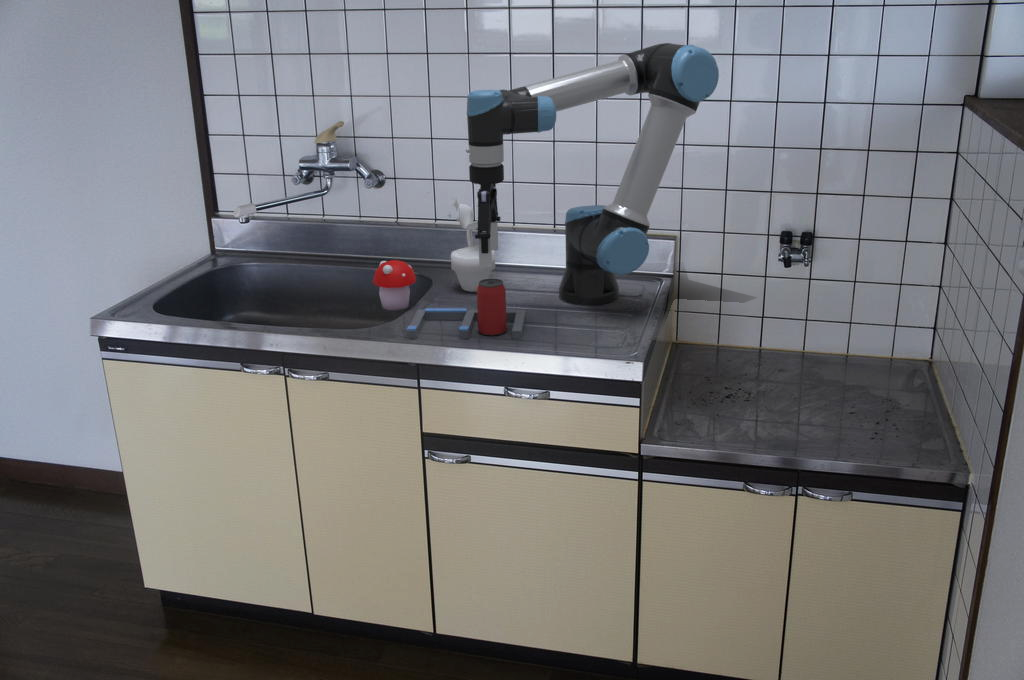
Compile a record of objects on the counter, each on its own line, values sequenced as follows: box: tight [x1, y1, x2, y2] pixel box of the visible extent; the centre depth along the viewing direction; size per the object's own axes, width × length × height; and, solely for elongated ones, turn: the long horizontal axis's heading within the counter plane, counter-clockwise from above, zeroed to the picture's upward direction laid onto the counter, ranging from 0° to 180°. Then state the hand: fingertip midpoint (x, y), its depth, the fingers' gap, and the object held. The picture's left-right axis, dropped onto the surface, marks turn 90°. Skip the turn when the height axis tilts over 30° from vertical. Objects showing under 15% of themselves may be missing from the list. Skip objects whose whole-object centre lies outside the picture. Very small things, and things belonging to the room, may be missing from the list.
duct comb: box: [406, 307, 526, 340], centre depth 226 cm, size 26×14×2 cm, turn 85°
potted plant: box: [447, 199, 496, 293], centre depth 250 cm, size 13×12×25 cm
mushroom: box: [372, 259, 417, 311], centre depth 241 cm, size 11×11×12 cm
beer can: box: [476, 278, 508, 337], centre depth 222 cm, size 7×7×12 cm
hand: (489, 258), depth 218 cm, fingers open, 13 cm apart
